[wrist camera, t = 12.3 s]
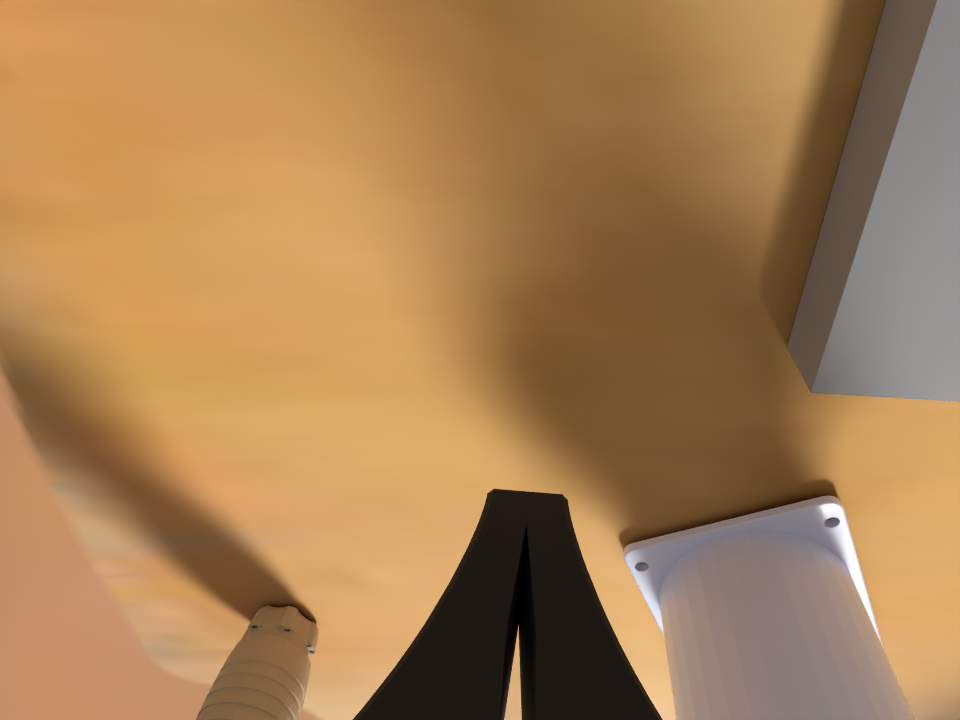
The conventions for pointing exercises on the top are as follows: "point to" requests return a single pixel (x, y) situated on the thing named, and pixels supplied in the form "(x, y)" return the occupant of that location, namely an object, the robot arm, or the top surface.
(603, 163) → the top surface
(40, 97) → the top surface
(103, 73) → the top surface
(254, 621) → the handle
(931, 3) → the plate
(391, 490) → the top surface
